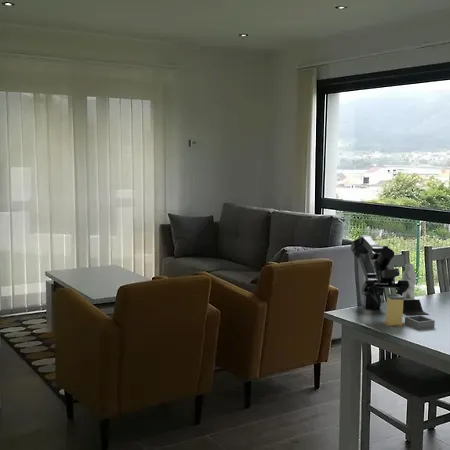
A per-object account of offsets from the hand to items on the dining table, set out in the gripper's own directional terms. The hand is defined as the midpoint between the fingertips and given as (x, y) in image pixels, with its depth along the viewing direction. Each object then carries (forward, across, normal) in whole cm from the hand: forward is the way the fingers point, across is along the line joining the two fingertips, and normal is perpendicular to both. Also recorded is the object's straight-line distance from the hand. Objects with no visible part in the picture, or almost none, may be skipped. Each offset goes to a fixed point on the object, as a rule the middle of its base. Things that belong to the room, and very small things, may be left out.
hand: (389, 303), depth 251 cm
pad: (+10, 0, +1) cm, 10 cm away
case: (+8, +9, +3) cm, 12 cm away
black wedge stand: (-3, +15, +15) cm, 21 cm away
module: (+9, 0, +1) cm, 9 cm away
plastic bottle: (-10, +17, +22) cm, 30 cm away
